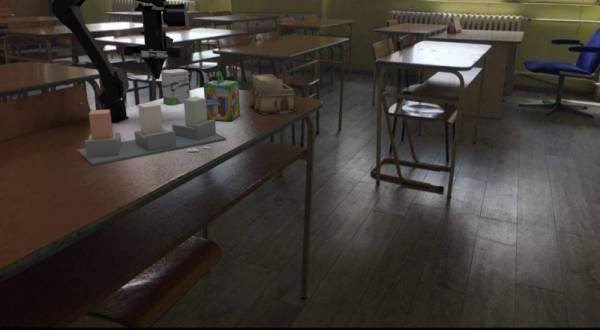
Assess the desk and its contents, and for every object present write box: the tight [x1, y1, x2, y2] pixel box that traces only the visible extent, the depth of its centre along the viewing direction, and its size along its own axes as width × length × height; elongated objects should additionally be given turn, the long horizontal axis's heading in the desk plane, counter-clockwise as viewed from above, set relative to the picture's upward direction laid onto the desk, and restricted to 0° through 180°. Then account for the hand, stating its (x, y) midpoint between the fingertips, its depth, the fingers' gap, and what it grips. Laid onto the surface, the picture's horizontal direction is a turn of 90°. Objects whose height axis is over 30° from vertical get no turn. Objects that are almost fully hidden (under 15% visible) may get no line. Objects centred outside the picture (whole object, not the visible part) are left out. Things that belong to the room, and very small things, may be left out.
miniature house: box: [248, 73, 297, 115], centre depth 172 cm, size 15×14×11 cm
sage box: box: [183, 96, 208, 127], centre depth 140 cm, size 4×4×10 cm
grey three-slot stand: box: [77, 120, 227, 166], centre depth 134 cm, size 14×36×5 cm, turn 128°
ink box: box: [160, 68, 191, 106], centre depth 181 cm, size 9×5×12 cm, turn 134°
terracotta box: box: [88, 109, 114, 140], centre depth 126 cm, size 4×4×10 cm
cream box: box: [137, 101, 163, 135], centre depth 133 cm, size 4×4×10 cm
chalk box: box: [203, 70, 241, 122], centre depth 161 cm, size 9×9×15 cm
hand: (157, 79), depth 155 cm, fingers closed
